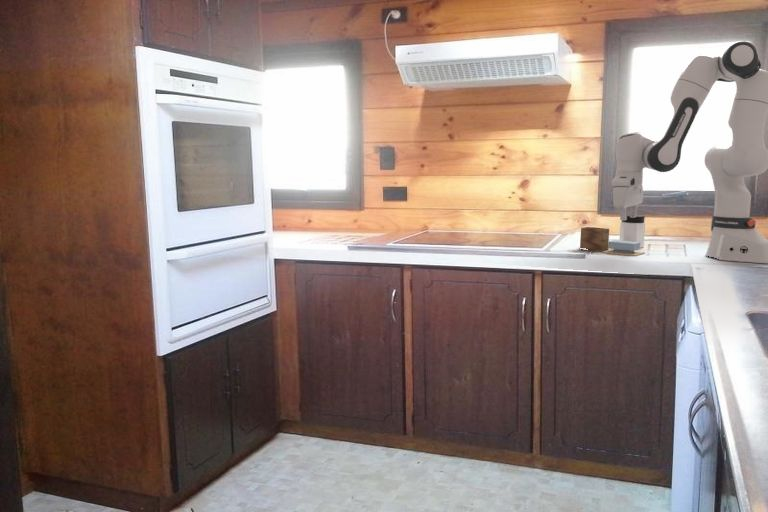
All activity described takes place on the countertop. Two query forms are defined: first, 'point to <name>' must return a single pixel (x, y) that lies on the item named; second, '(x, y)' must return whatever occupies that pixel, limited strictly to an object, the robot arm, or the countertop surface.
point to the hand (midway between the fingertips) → (628, 218)
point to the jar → (633, 229)
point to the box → (594, 239)
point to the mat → (623, 253)
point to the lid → (624, 246)
